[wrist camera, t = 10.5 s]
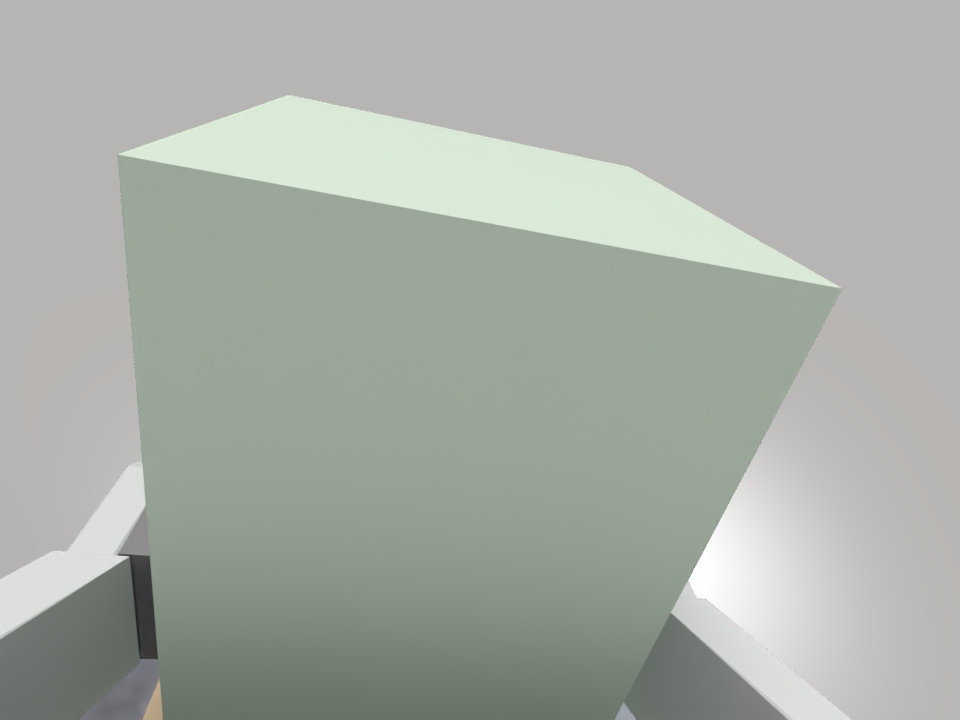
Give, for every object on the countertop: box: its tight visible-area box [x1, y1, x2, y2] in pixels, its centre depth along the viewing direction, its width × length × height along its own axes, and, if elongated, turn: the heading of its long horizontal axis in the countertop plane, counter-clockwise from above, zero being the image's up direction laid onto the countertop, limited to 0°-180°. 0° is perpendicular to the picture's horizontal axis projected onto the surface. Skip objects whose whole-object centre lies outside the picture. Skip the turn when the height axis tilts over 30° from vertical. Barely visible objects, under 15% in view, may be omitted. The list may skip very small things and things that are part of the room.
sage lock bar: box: [118, 95, 842, 720], centre depth 9 cm, size 4×4×14 cm
